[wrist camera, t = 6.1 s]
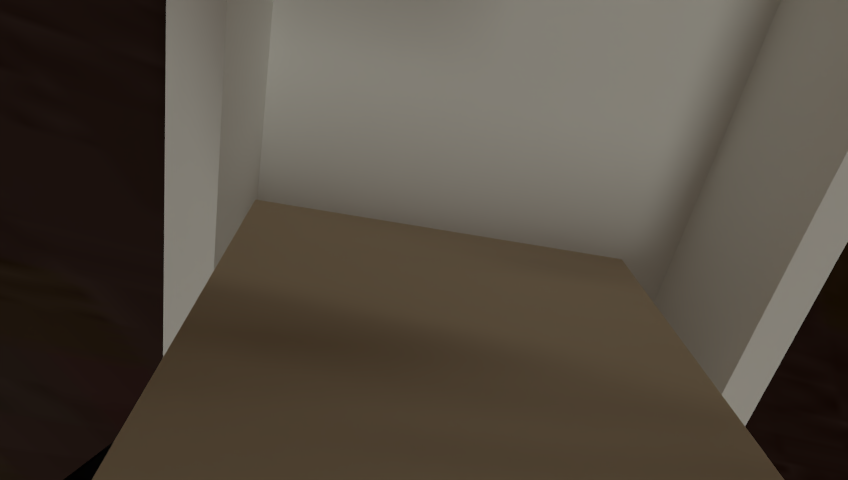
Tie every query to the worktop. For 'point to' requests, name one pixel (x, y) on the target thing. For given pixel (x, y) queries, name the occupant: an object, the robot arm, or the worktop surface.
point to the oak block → (424, 366)
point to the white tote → (532, 143)
